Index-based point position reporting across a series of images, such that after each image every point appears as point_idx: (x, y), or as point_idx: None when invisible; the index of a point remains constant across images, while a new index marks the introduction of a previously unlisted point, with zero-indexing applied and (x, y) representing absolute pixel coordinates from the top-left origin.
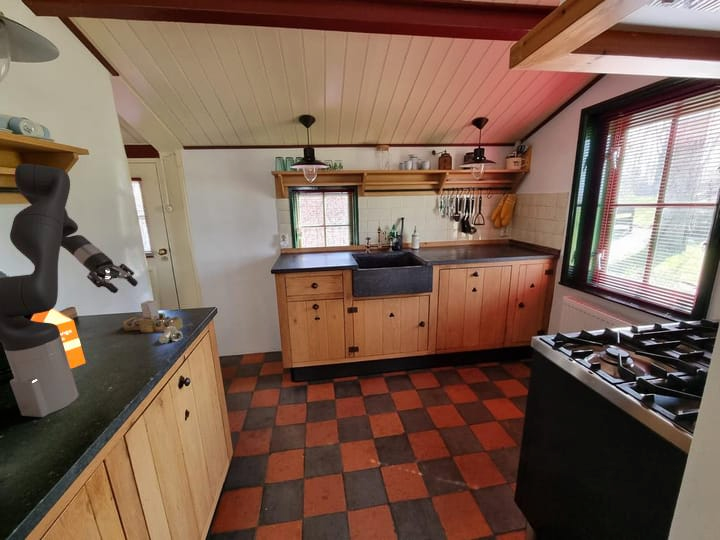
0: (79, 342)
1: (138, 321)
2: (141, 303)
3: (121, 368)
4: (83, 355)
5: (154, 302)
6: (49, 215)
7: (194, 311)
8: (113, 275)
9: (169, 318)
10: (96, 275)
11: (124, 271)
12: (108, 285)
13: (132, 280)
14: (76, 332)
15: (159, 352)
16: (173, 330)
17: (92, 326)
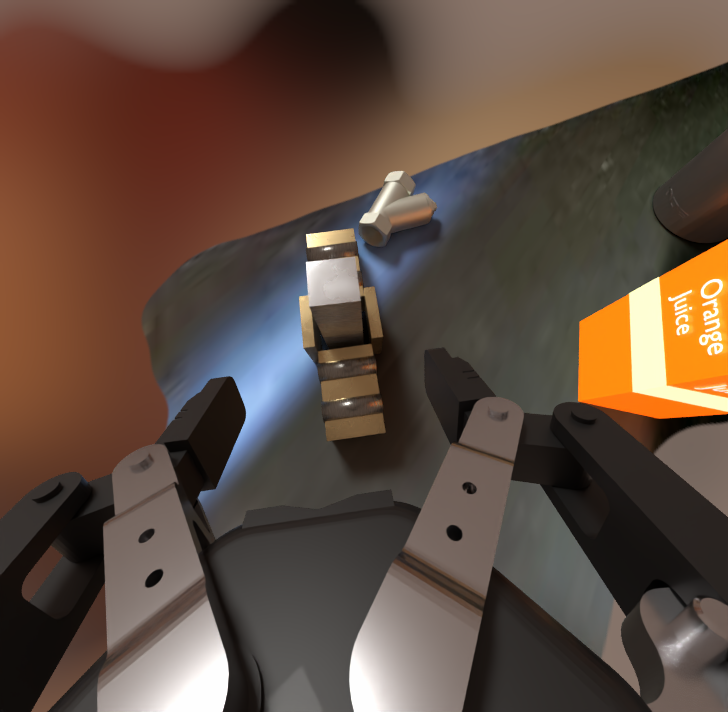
0: (643, 287)
1: (371, 358)
2: (356, 298)
3: (551, 209)
4: (598, 311)
5: (318, 264)
6: None
7: (179, 321)
8: (350, 505)
9: None
10: (699, 562)
11: (126, 511)
12: (492, 392)
13: (215, 410)
14: (688, 262)
15: (464, 191)
16: (393, 190)
17: None
